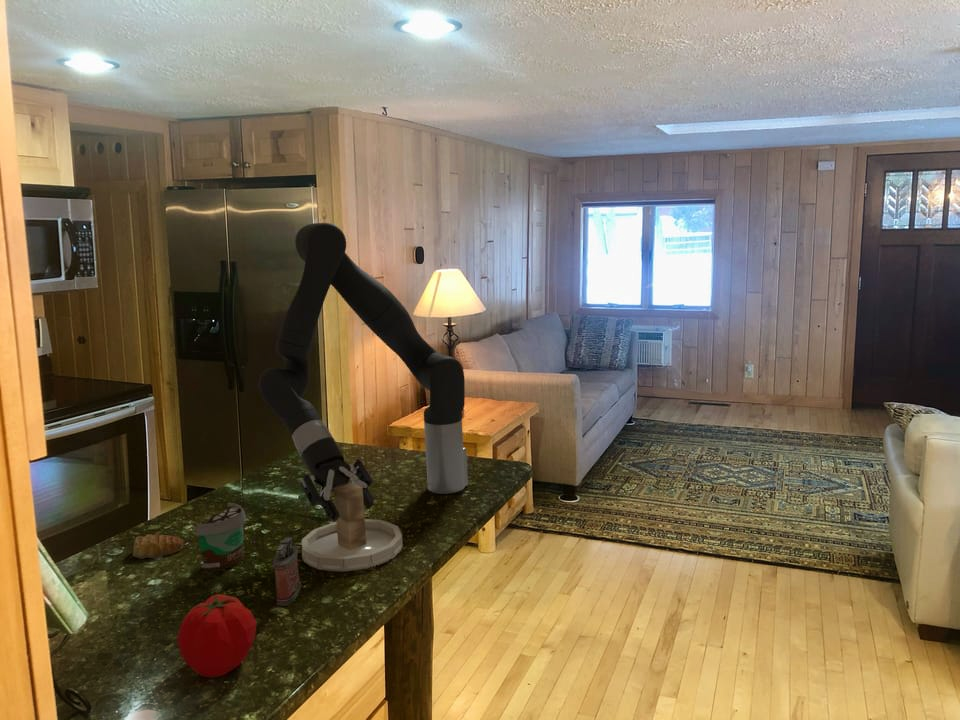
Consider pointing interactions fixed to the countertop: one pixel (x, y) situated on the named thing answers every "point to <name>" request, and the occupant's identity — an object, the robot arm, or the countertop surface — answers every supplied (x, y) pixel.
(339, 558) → the round dish
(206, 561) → the food container
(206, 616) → the tomato
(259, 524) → the countertop surface
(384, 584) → the countertop surface
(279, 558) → the lighter
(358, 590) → the countertop surface
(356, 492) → the oak block
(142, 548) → the pastry
